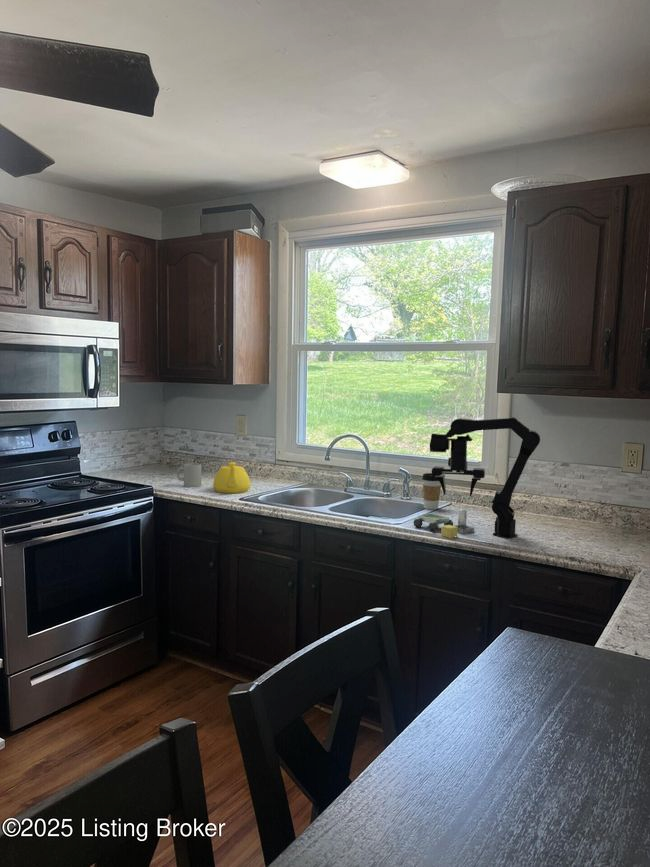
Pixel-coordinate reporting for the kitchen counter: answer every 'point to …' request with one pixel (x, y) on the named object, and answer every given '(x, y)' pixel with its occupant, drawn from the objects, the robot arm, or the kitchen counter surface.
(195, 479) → the mug
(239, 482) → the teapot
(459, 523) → the pin
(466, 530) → the socket
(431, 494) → the coffee cup
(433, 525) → the trolley
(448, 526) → the block
